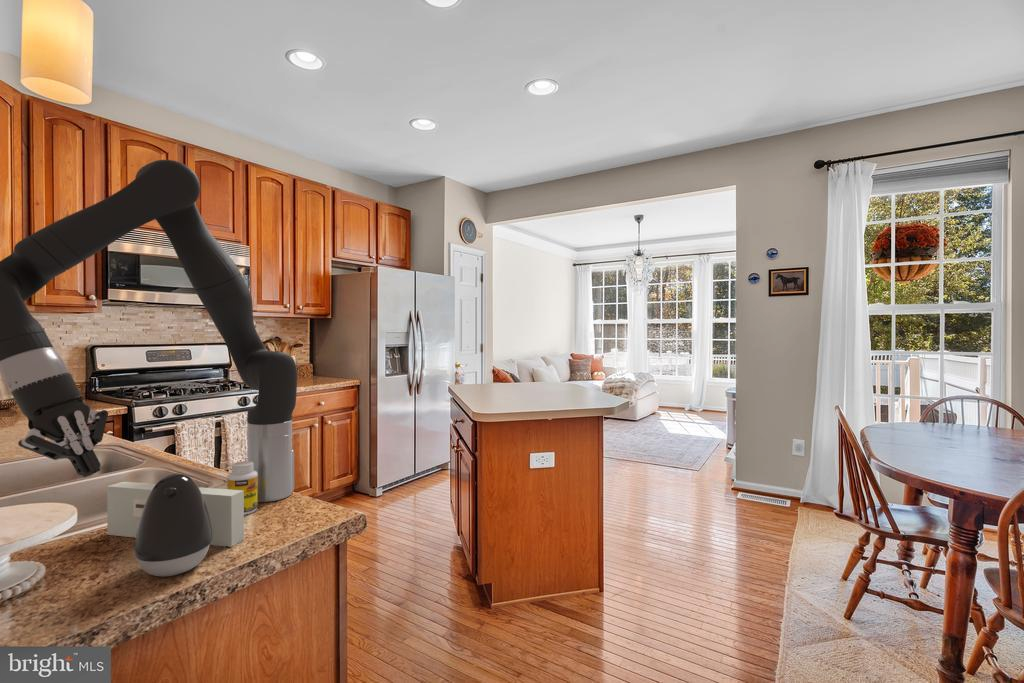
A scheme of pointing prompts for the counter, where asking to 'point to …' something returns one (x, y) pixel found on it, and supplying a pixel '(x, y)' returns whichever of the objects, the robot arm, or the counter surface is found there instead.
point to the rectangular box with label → (220, 503)
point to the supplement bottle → (244, 484)
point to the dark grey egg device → (173, 527)
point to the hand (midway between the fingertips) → (92, 473)
